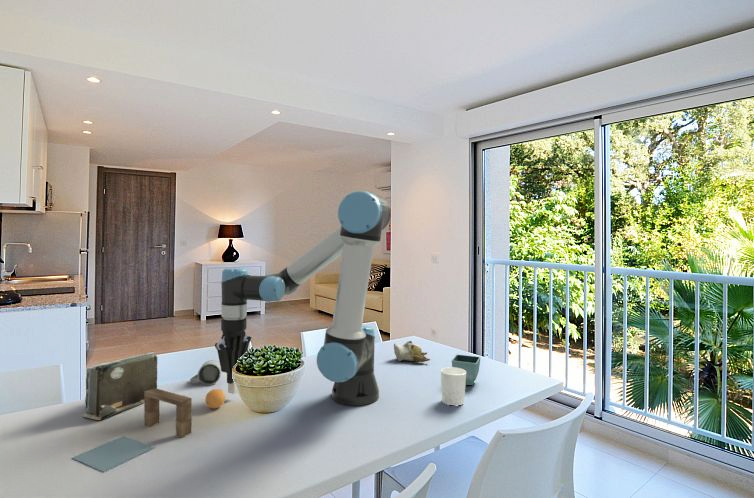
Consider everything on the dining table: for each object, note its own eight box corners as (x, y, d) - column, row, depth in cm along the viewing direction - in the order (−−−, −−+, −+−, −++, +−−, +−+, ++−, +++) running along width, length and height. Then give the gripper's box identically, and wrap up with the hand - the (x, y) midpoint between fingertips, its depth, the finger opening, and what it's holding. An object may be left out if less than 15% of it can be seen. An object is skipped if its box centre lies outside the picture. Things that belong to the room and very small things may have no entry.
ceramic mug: (222, 377, 154) (221, 356, 153) (220, 384, 146) (220, 363, 146) (191, 379, 151) (191, 359, 150) (188, 387, 143) (188, 365, 143)
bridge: (154, 421, 117) (154, 388, 116) (191, 433, 110) (191, 398, 110) (144, 425, 114) (144, 391, 114) (181, 437, 108) (181, 401, 107)
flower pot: (450, 385, 149) (451, 360, 149) (455, 378, 157) (456, 353, 157) (476, 389, 146) (476, 363, 145) (480, 381, 154) (480, 356, 154)
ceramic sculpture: (393, 336, 183) (428, 339, 183) (391, 356, 183) (426, 359, 183) (394, 343, 172) (431, 346, 172) (392, 364, 173) (429, 367, 173)
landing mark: (154, 447, 102) (154, 447, 102) (103, 472, 92) (103, 471, 92) (123, 436, 108) (123, 435, 108) (71, 458, 97) (71, 457, 97)
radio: (151, 390, 140) (151, 345, 139) (170, 394, 136) (170, 348, 136) (76, 417, 118) (76, 364, 118) (97, 423, 115) (96, 369, 115)
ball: (229, 406, 128) (229, 388, 127) (214, 413, 123) (214, 394, 123) (215, 402, 130) (216, 385, 130) (201, 409, 125) (201, 390, 125)
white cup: (468, 400, 136) (468, 369, 136) (462, 409, 129) (463, 376, 128) (444, 396, 139) (444, 365, 139) (437, 404, 132) (437, 372, 132)
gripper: (240, 313, 140) (239, 384, 141) (208, 319, 128) (207, 396, 129) (258, 315, 136) (256, 388, 137) (226, 322, 125) (225, 401, 126)
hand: (232, 392), depth 133 cm, fingers closed
